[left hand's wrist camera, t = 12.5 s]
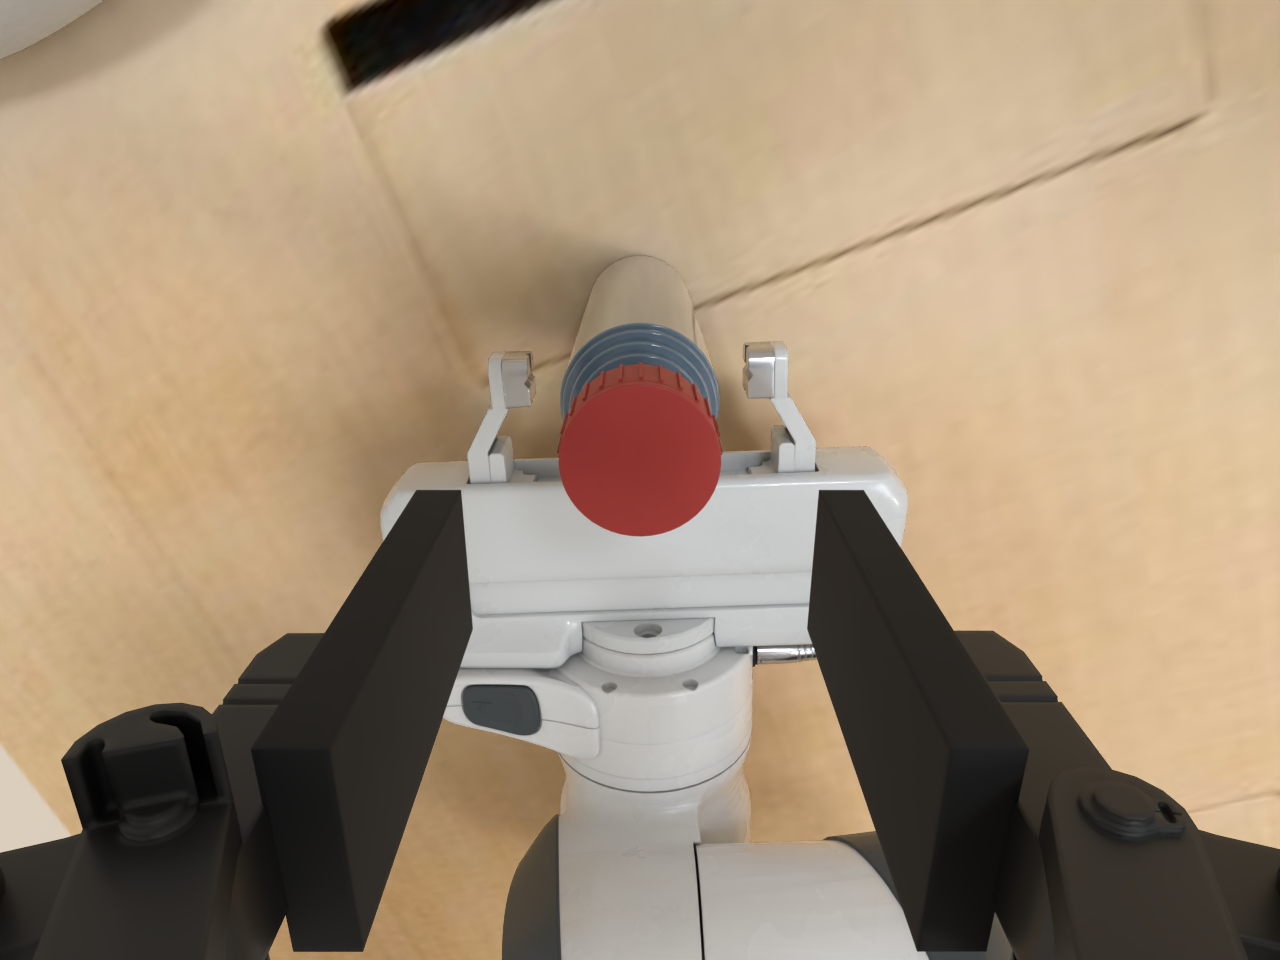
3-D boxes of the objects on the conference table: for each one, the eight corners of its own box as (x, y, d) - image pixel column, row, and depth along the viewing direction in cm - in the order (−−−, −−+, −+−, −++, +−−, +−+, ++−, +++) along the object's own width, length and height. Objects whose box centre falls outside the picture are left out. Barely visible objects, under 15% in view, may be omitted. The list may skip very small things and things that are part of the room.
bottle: (650, 377, 38) (658, 576, 21) (568, 318, 37) (505, 475, 20) (711, 297, 37) (776, 438, 19) (629, 233, 36) (619, 322, 18)
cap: (654, 534, 22) (656, 568, 20) (532, 450, 21) (523, 479, 19) (748, 421, 21) (758, 447, 19) (623, 329, 20) (621, 347, 18)
